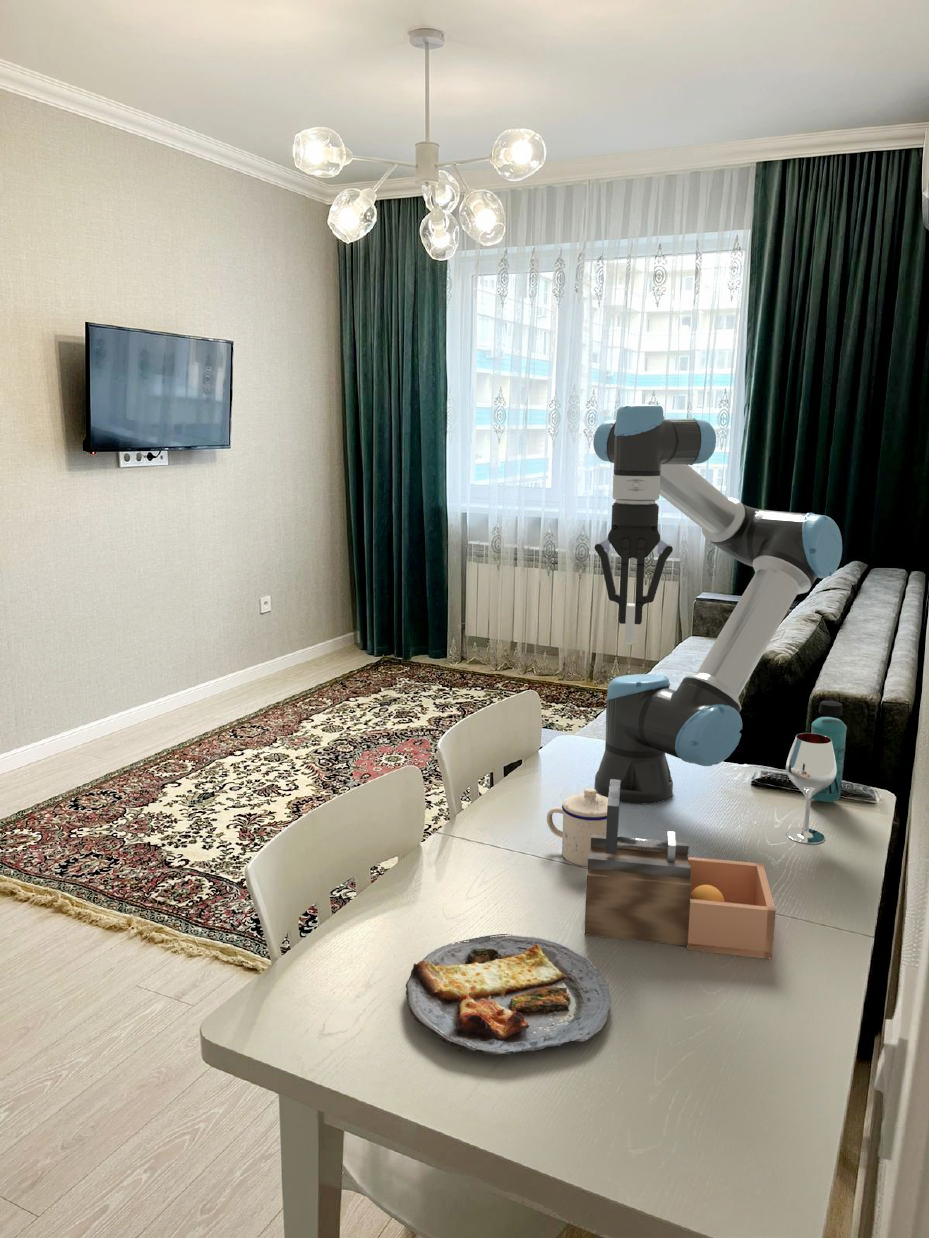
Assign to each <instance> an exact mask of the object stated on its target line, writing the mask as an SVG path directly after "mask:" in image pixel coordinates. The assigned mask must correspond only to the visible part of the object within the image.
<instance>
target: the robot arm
mask: <svg viewBox="0 0 929 1238" xmlns="http://www.w3.org/2000/svg"><path fill="white" fill-rule="evenodd" d="M592 444H593V450H594V452H595V454H596V456H597V457H598V458H599V459H600V460H602V461H604V462H608V463H611V464H613V476H612V499H613V500H615V502H614V503H613V504H612V505H611V525H610V527H611V528H610V530H609V532H608V534H607V538H605V539H603V540H602V541H600V542H599V541H598V542H597V543H595V545H594V550H595V551H596V554H597V555H598V557H599V558H600V562H601V567H602V572H603V577H604V582H605V586H606V592H607V596H608V599H609V601H611V602H615V603H617V605H618V622H619V624H622V625H625V628H624V629H625V630H624V645H631V646H633V645H635V627H636V626H635V625H641V624H642V621H643V607H644V605H645V604H649V603H653V602H654V600H655V597H656V593H657V590H658V587H659V584H660V580H661V579H662V578H661V577H662V575H663V571H664V568H665V567H664V566H665V565H666V562H667V559H668V558H669V557H670V555H671V554H672V553H673V550H674V548H673V546H672V545H671V544H670V543H669V544H668V543H666V542H665V541H664V540H663V539H662V538H661V535H660V533H659V530H658V527H659V513H660V512H659V509H660V505H659V504H658V503H656V501H658V500H659V499H660V497H663V499H664V500H666V501H667V502H669V504H671V505H672V506H673V507H675V508H676V509H677V510H678V511H680V512H681V513H682V514H684V515H685V516H686V517H688V519H690V520H691V521H692V522H694V523H695V524H696V525H698V527H700V528H701V533H702V536H704V538H706V540H708V541H709V542H710V543H712V545H714V546H715V547H717V548H719V549H720V550H721V551H722V552H724V553H725V554H727V555H728V556H730V557H732V558H733V559H735V560H737V561H738V562H740V563H742V564H744V565H747V566H749V567H752V568H753V570H754V572H755V573H754V574H753V577H752V578H751V580H750V582H749V583H748V584H747V586H746V589H744V592H743V593H742V595H741V596H740V599H739V600H738V601H737V604H736V606H735V607H734V609H733V611H732V612H731V613H730V616H729V617H728V619H727V621H726V622H725V624H724V625H723V627H722V629H721V631H720V633H719V634H718V636H717V637H716V639H715V640H714V643H713V644H712V646H711V647H710V649H709V651H708V653H707V654H706V656H705V658H704V659H703V661H702V663H701V664H700V666H699V669H698V670H697V672H696V673H695V674H691V675H687V676H684V678H683V679H682V681H681V682H680V684H679V686H678V687H677V689H676V690H675V689H672V688H670V686H671V683H670V680H669V678H668V677H667V676H665V675H662V674H656V673H655V674H653V673H651V674H649V673H638V674H637V673H636V674H627V675H621V676H620V675H619V676H617V677H615V678H613V679H611V680H610V682H608V686H607V694H606V695H607V696H606V699H605V700H606V701H605V702H606V707H605V708H606V709H605V711H606V712H605V743H604V745H605V746H604V748H605V749H604V752H603V756H602V758H601V761H600V765H599V768H598V770H597V771H596V773H595V776H594V789H595V790H596V793H597V794H599V795H601V796H604V797H607V798H608V795H609V786H610V779H614V780H621V783H620V803H622V804H630V805H652V804H657V803H662V802H664V801H666V800H669V799H670V798H671V797H672V796H673V792H674V791H673V790H674V787H673V786H674V781H673V778H672V775H671V771H670V767H669V764H668V759H667V755H669V756H673V757H675V758H677V759H680V760H681V761H683V762H685V763H688V764H695V765H697V766H703V767H712V766H713V765H719V764H721V763H722V762H724V761H725V760H726V759H728V758H729V757H730V756H731V754H733V753H734V751H735V750H736V748H737V746H738V745H739V743H740V739H741V737H742V733H741V732H740V731H741V730H743V721H742V717H741V714H740V712H741V711H742V705H741V703H740V700H739V697H740V695H741V693H742V691H743V689H744V688H745V686H746V685H747V683H748V681H749V679H750V677H751V676H752V674H753V672H754V670H755V669H756V667H757V666H758V663H759V662H760V660H761V658H762V657H763V655H764V653H765V651H766V650H767V648H768V646H769V645H770V643H771V641H772V639H773V637H774V636H775V634H776V632H777V630H778V628H779V627H780V625H781V623H782V621H783V620H784V618H785V617H786V615H787V612H789V609H790V608H791V606H792V604H793V602H794V600H795V599H796V597H797V596H798V595H801V594H806V593H808V592H809V591H810V589H811V587H813V584H814V583H815V581H816V580H817V578H819V579H824V578H826V579H827V578H829V577H831V576H832V575H834V574H835V573H836V571H837V569H838V567H839V566H840V562H841V560H842V556H843V555H842V554H843V539H842V534H841V531H840V528H839V526H838V525H837V523H836V522H835V520H834V519H832V518H831V517H829V516H828V515H823V514H822V515H821V514H815V513H814V512H807V513H802V512H792V511H791V512H789V511H779V510H778V511H777V510H769V509H760V508H757V507H756V508H755V507H751V506H747V505H746V504H744V503H742V502H741V501H740V500H739V499H737V498H733V497H727V496H726V495H724V494H723V492H721V491H720V490H719V489H717V487H715V486H714V485H713V484H711V483H710V482H709V481H708V480H707V479H706V478H705V477H703V476H702V475H700V474H699V473H698V471H696V470H695V469H693V468H692V467H691V466H693V465H696V464H703V463H706V462H707V461H708V460H709V459H711V457H712V456H713V455H714V452H715V450H716V448H717V447H716V445H717V434H716V430H715V428H714V427H713V425H711V423H710V422H708V421H706V420H703V419H698V418H697V419H696V418H665V415H664V408H663V407H662V406H661V405H658V404H626V405H624V404H623V405H621V406H620V407H618V409H617V411H616V417H615V419H611V420H606V421H604V422H602V423H601V424H599V426H598V427H597V428H596V430H595V433H594V436H593V442H592ZM610 545H611V547H612V549H614V551H615V552H616V554H617V555H618V556H619V557H620V581H619V593H617V590H616V586H615V581H614V576H613V572H612V568H611V567H612V566H611V561H610V556H609V554H608V553H609V552H610V549H611V548H610ZM656 547H657V554H658V557H657V560H656V563H655V566H654V569H653V574H652V575H651V576H652V577H651V580H650V584H649V586H648V589H647V593H646V594H644V583H645V582H644V581H645V579H644V577H645V559H646V558H648V556H649V555H650V554H651V552H652V551H653V550H654V549H655V548H656ZM630 559H636V577H635V578H636V579H635V600H634V601H635V602H634V603H628V590H629V589H628V588H629V587H628V586H629V566H630V565H629V563H630ZM666 754H667V755H666Z"/></svg>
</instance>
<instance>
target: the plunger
mask: <svg viewBox="0 0 929 1238" xmlns="http://www.w3.org/2000/svg"><path fill="white" fill-rule="evenodd" d="M620 783H621V780H614V779H610V786H609V795H608V804H607V826H606V851H605V853H608V854H616V853H617V848H623V849H634V850H645V851H656V852H667V863H675V850H676V843H675V842H676V832H675V831H669V830H668V831H667V833H666V834H667V836H666V838H667V839H666V840H661V839H652V838H651V839H649V838H640V837H639V838H638V837H628V836H619V823H620V805H621V804H620V803H621V802H620Z"/></svg>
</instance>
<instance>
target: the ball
mask: <svg viewBox="0 0 929 1238" xmlns="http://www.w3.org/2000/svg"><path fill="white" fill-rule="evenodd" d="M690 899H697V900H707V901H716V902H725V900H724V897H723V895H722V893H721V892H720V891H719V890H718V889H717V888H715V887H713V886H711V885H701V886H698V887H696V888H695V889H694V890H693V891H692V892H691V894H690Z"/></svg>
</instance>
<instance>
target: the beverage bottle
mask: <svg viewBox="0 0 929 1238" xmlns="http://www.w3.org/2000/svg"><path fill="white" fill-rule="evenodd" d="M818 713H819V714H821V715H823V716H821V717H818V718H816V719H815V720H814V721H813V722H812V723H811V732H810V733H814V734H820V735H824V736H827V737H829V738H830V739H831V740H832V745H833V750H834V755H835V760H836V768H837V773H836V777H835V779H834V781H833V782H832V783H831V784H830V785H829V786H828V787H827V788H825V789H823V790H822V791H820V792H818V793H816V794H815V795H814V796H813V797H812V798H811V800H815V801H819V802H827V803H833V802H836V801H839V799H840V798H841V794H842V788H843V781H844V780H843V779H844V778H843V776H844V769H845V768H844V762H845V758H846V755H845V753H846V747H847V746H846V743H847V741H846V737H847V730H848V727H847V725H846V724H845V723H844V722H843V721H842V720H841V719H839V718H837V717H841V716H842V715H843V704H842V703H841V702H839V701H835V700H822V701H821V702H820V704H819V708H818Z"/></svg>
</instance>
